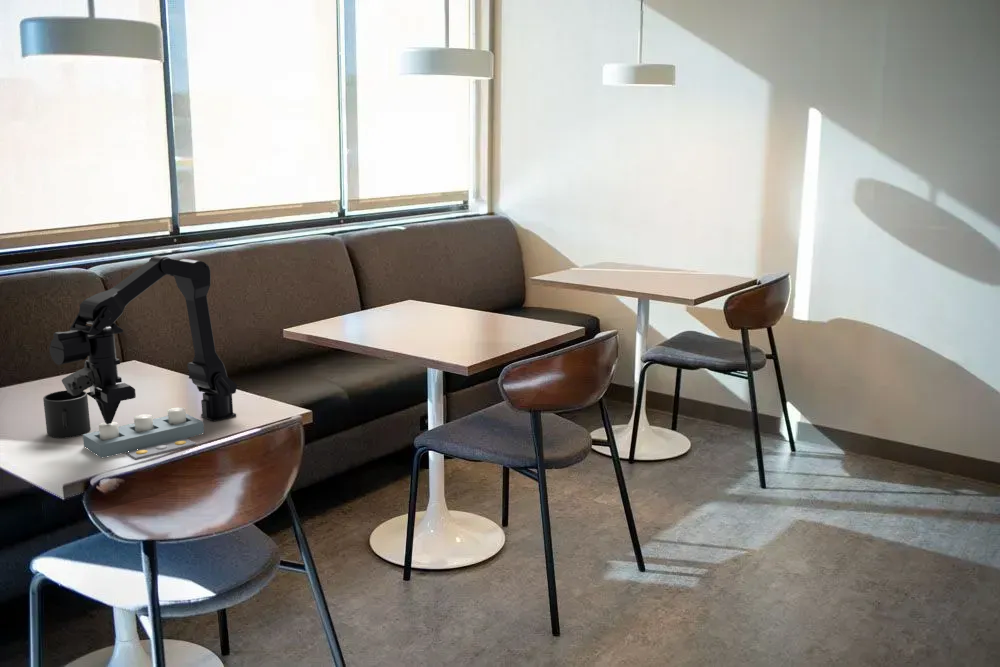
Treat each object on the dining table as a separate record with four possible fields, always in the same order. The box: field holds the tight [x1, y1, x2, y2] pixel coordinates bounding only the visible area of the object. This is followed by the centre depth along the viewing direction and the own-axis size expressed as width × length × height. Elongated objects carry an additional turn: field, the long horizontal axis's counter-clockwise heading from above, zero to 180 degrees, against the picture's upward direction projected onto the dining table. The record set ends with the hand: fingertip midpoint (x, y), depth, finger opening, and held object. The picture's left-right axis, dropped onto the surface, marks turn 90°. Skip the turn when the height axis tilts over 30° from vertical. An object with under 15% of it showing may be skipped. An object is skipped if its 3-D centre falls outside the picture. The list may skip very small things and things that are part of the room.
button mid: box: [133, 413, 154, 433], centre depth 223 cm, size 4×4×4 cm
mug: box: [42, 389, 91, 439], centre depth 228 cm, size 9×12×9 cm
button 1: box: [98, 421, 119, 441], centre depth 218 cm, size 4×4×4 cm
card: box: [125, 438, 197, 461], centre depth 218 cm, size 14×5×1 cm, turn 133°
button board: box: [82, 413, 205, 459], centre depth 224 cm, size 24×10×3 cm, turn 133°
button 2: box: [167, 407, 187, 425], centre depth 229 cm, size 4×4×4 cm
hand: (108, 423), depth 217 cm, fingers closed
